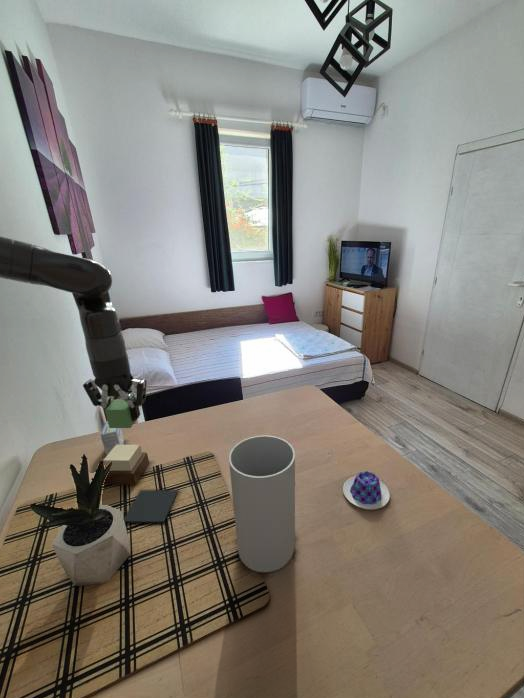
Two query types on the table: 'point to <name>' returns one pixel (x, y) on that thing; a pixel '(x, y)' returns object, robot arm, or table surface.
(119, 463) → the cream block
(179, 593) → the table surface
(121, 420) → the green cube
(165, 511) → the rubber mat
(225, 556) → the table surface
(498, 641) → the table surface
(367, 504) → the pudding
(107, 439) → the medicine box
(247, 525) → the cylinder vase
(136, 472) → the walnut block
